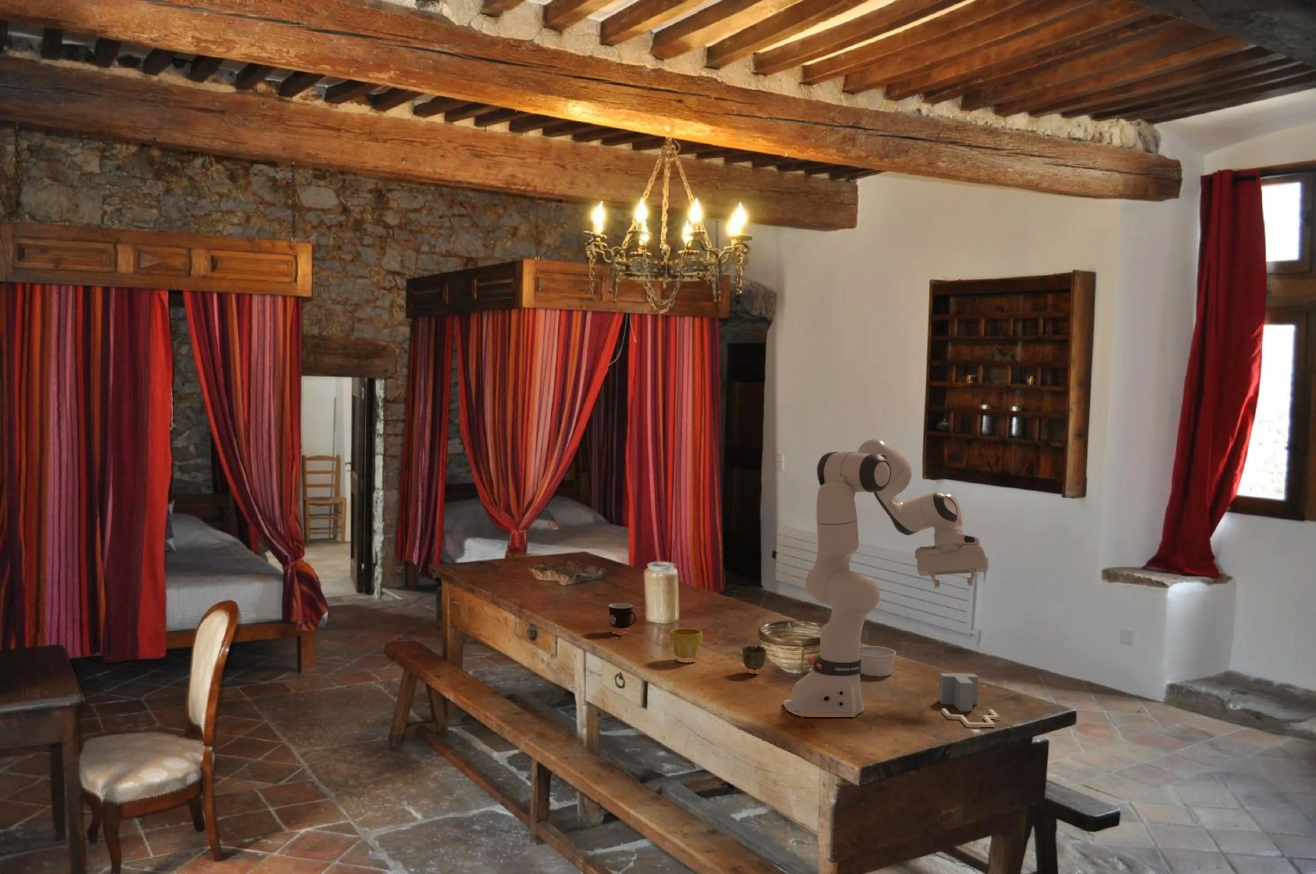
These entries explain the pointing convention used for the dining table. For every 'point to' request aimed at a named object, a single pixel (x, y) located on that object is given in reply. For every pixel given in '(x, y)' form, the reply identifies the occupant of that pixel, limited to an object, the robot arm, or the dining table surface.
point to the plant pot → (686, 642)
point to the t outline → (973, 724)
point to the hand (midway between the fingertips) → (953, 585)
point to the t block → (958, 690)
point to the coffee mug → (621, 615)
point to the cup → (754, 657)
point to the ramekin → (877, 660)
